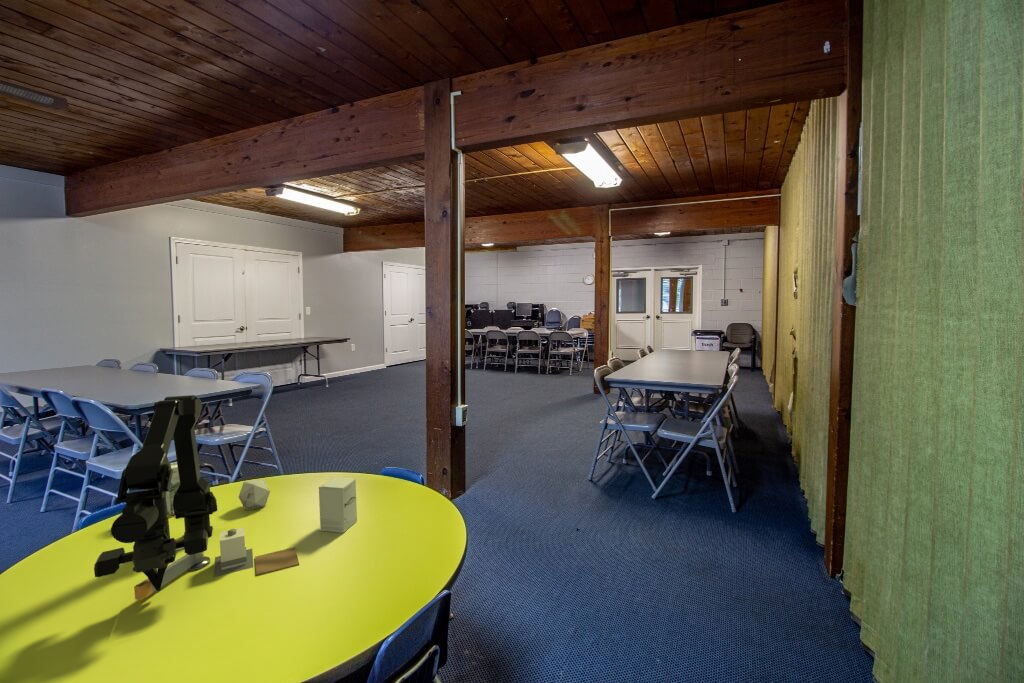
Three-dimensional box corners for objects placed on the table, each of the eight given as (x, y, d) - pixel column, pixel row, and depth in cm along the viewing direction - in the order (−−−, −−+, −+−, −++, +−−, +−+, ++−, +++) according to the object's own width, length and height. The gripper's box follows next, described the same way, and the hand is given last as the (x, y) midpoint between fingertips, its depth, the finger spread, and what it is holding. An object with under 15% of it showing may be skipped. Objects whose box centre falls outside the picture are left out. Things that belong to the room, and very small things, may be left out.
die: (232, 510, 148) (230, 492, 142) (250, 487, 155) (249, 468, 149) (259, 520, 148) (258, 501, 142) (276, 496, 155) (276, 477, 149)
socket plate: (215, 558, 119) (215, 557, 119) (252, 549, 123) (252, 548, 123) (213, 578, 110) (213, 576, 110) (253, 568, 114) (253, 567, 114)
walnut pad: (255, 558, 118) (255, 556, 118) (295, 549, 123) (295, 546, 123) (256, 577, 110) (256, 574, 110) (299, 565, 115) (299, 563, 115)
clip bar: (197, 557, 117) (196, 542, 116) (206, 558, 116) (205, 543, 116) (133, 599, 101) (131, 581, 100) (143, 600, 100) (142, 582, 100)
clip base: (186, 564, 116) (186, 560, 116) (210, 558, 119) (210, 554, 119) (184, 574, 112) (184, 569, 112) (209, 568, 114) (209, 563, 114)
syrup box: (188, 504, 151) (185, 459, 150) (193, 510, 147) (189, 463, 145) (166, 510, 147) (162, 463, 145) (170, 516, 143) (167, 468, 141)
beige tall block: (221, 559, 118) (219, 528, 117) (246, 553, 120) (244, 523, 119) (220, 570, 113) (218, 538, 112) (246, 564, 115) (245, 532, 115)
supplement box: (344, 533, 131) (342, 488, 130) (319, 531, 132) (317, 486, 131) (358, 521, 138) (356, 478, 137) (334, 519, 139) (332, 476, 138)
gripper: (82, 549, 89) (92, 628, 91) (202, 523, 99) (208, 595, 100) (97, 525, 99) (105, 596, 101) (204, 503, 108) (210, 569, 110)
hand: (158, 589), depth 102 cm, fingers closed
